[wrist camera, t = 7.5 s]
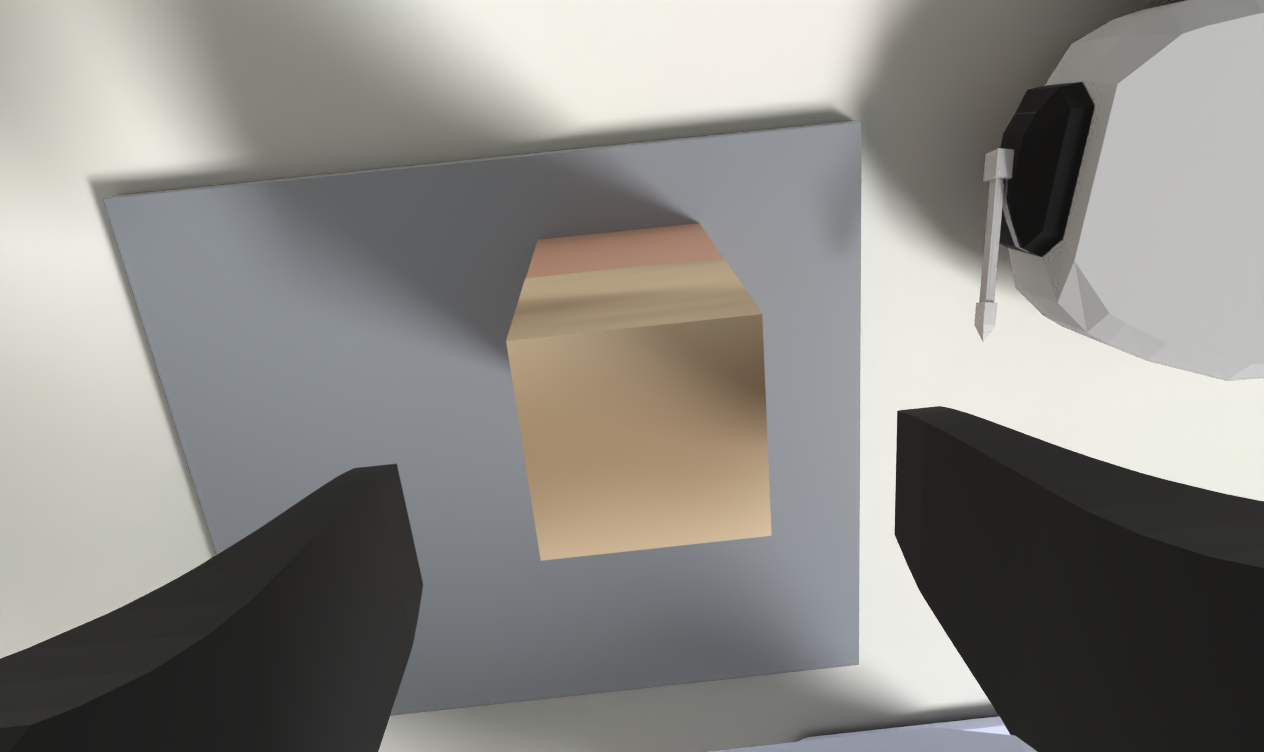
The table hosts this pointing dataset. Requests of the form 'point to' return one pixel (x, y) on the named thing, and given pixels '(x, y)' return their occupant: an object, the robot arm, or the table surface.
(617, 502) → the top brick
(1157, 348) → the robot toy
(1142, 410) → the table surface
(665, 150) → the baseplate
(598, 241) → the base brick
